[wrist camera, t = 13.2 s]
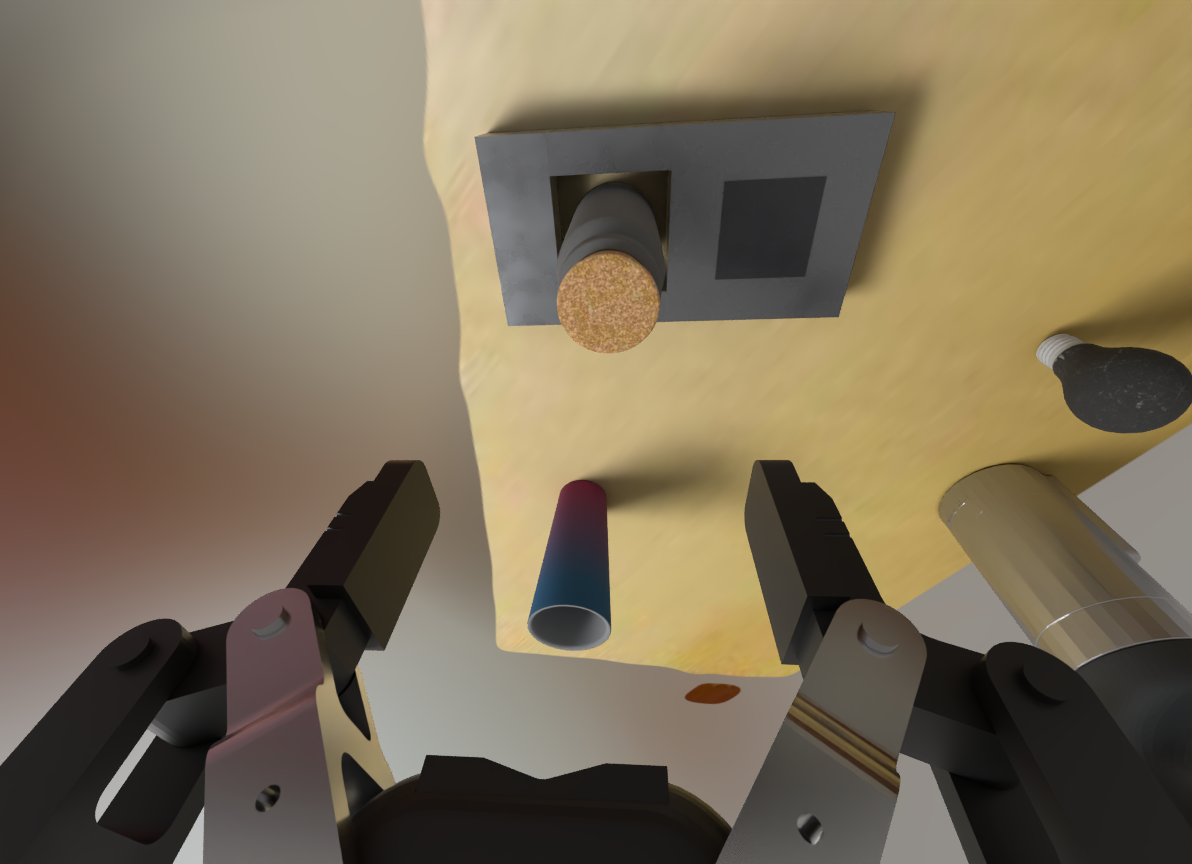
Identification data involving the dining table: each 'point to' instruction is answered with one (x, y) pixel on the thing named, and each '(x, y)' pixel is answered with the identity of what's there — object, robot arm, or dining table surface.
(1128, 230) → the dining table surface
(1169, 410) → the light bulb
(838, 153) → the panel
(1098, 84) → the dining table surface
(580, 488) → the cup
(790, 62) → the dining table surface
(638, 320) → the bottle
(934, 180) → the dining table surface
